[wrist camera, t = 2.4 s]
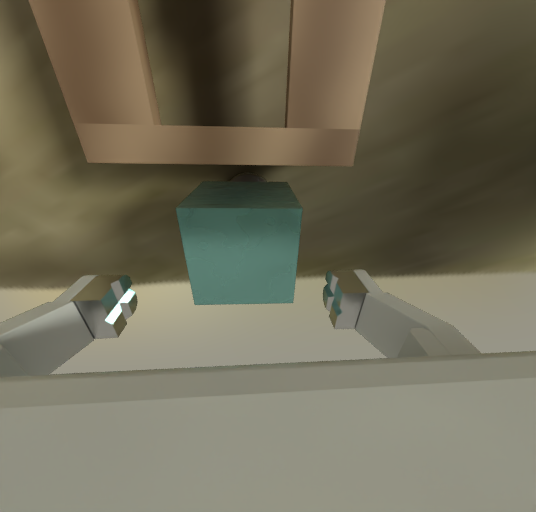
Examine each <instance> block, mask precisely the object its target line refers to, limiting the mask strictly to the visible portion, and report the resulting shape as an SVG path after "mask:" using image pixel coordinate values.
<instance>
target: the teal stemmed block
mask: <svg viewBox="0 0 536 512" xmlns="http://www.w3.org/2000/svg"><path fill="white" fill-rule="evenodd" d="M176 212H177V218H178V223H179V228H180V233H181V238H182V243H183V248H184V253H185V258H186V263H187V268H188V273H189V279H190V284H191V289H192V294H193V298H194V304H195V305H210V304H211V305H213V304H267V303H293V299H294V289H295V279H296V269H297V259H298V249H299V239H300V229H301V219H302V207H301V205H300V203H299V202H298V200H297V198H296V197H295V195H294V193H293V191H292V190H291V188H290V186H289V185H288V183H287V182H267V180H266V179H264V178H263V177H262V176H260V175H258V174H255V173H250V172H246V173H241V174H238V175H236V176H235V177H233V178H232V179H231V180H230V181H229V182H221V181H203V182H202V183H201V184H200V185H199V186H198V187H197V188H196V189H195V190H194V191H193V192H192V193H191V194H190V195H189V196H188V197H187V198H186V199H185V200H183V201H182V202H181V203H180V204H179V205H178V206H177V207H176Z"/></svg>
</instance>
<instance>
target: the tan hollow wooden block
mask: <svg viewBox="0 0 536 512" xmlns="http://www.w3.org/2000/svg"><path fill="white" fill-rule="evenodd" d="M385 2H386V0H291V11H290V31H289V51H288V71H287V92H286V112H285V128H268V127H223V126H178V125H161V120H160V115H159V109H158V104H157V99H156V94H155V89H154V83H153V78H152V73H151V68H150V63H149V58H148V52H147V47H146V42H145V37H144V32H143V26H142V21H141V16H140V11H139V6H138V0H29V3H30V6H31V8H32V11H33V14H34V17H35V19H36V22H37V25H38V28H39V30H40V33H41V36H42V39H43V41H44V44H45V47H46V50H47V52H48V55H49V58H50V61H51V63H52V66H53V69H54V72H55V74H56V77H57V80H58V83H59V85H60V88H61V91H62V93H63V96H64V99H65V102H66V104H67V107H68V110H69V113H70V115H71V118H72V121H73V124H74V126H75V129H76V132H77V135H78V137H79V140H80V143H81V146H82V148H83V151H84V154H85V157H86V159H87V162H88V163H145V164H220V165H295V166H353V163H354V158H355V153H356V148H357V143H358V138H359V133H360V128H361V123H362V118H363V113H364V108H365V103H366V98H367V93H368V88H369V83H370V78H371V72H372V67H373V62H374V57H375V52H376V47H377V42H378V37H379V32H380V27H381V22H382V17H383V12H384V7H385Z"/></svg>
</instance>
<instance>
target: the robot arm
mask: <svg viewBox="0 0 536 512" xmlns="http://www.w3.org/2000/svg"><path fill="white" fill-rule="evenodd" d="M325 279H326V281H327V283H328V284H327V285H326V286H325V287H324V290H323V301H324V305H325V307H326V309H327V310H328V311H330V315H329V317H330V319H331V322H332V324H333V327H334V328H335V329H355V330H356V331H357V332H358V333H360V334H361V335H362V336H363V337H364V338H365V339H366V340H368V341H369V342H370V343H371V344H372V345H373V346H374V347H376V348H377V349H378V350H379V351H380V352H381V353H383V354H384V355H385V356H386V357H387V358H380V359H360V360H341V361H320V362H298V363H279V364H258V365H257V364H256V365H235V366H217V367H216V366H215V367H195V368H174V369H154V370H134V371H113V372H93V373H72V374H53V375H49V374H50V373H51V372H53V371H54V370H55V369H57V368H58V367H59V366H61V365H62V364H63V363H65V362H66V361H67V360H68V359H70V358H71V357H72V356H74V355H75V354H76V353H78V352H79V351H80V350H82V349H83V348H84V347H86V346H87V345H88V344H89V343H91V342H92V341H94V339H99V338H100V339H101V338H115V337H119V335H120V334H121V332H122V331H123V329H124V328H125V326H126V324H127V322H126V319H127V318H129V317H130V316H132V315H133V313H134V311H135V310H136V306H137V296H136V293H135V292H134V291H133V290H132V289H130V287H131V285H132V282H131V280H130V277H129V276H127V275H86V276H82V277H81V278H80V279H79V280H77V281H76V282H75V283H74V284H73V285H72V286H70V287H69V288H68V289H67V290H66V291H65V292H63V293H62V294H61V295H60V296H59V297H58V298H57V299H55V300H54V301H53V302H47V303H45V304H42V305H40V306H38V307H36V308H33V309H31V310H29V311H26V312H24V313H22V314H19V315H17V316H15V317H12V318H10V319H8V320H6V321H3V322H1V323H0V512H536V351H523V352H503V353H480V351H479V350H477V349H476V347H474V346H473V345H472V344H471V343H470V342H469V341H468V340H467V339H466V338H465V337H464V336H463V335H462V334H461V333H460V332H459V331H458V330H457V329H456V328H455V327H454V326H452V325H450V324H448V323H447V322H444V321H443V320H441V319H438V318H437V317H435V316H433V315H430V314H429V313H427V312H425V311H423V310H421V309H418V308H417V307H415V306H413V305H411V304H409V303H407V302H405V301H403V300H401V299H399V298H396V297H394V296H392V295H390V294H389V293H383V292H382V290H380V288H379V287H378V286H377V284H376V283H375V282H374V281H373V279H372V278H371V277H370V276H369V274H368V273H367V272H366V271H365V270H363V269H357V270H339V271H328V272H327V274H326V278H325Z"/></svg>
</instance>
